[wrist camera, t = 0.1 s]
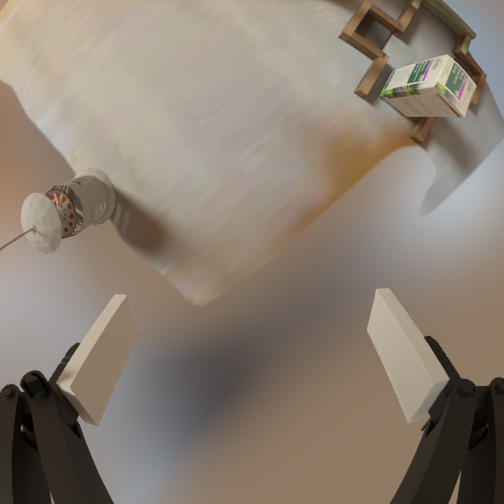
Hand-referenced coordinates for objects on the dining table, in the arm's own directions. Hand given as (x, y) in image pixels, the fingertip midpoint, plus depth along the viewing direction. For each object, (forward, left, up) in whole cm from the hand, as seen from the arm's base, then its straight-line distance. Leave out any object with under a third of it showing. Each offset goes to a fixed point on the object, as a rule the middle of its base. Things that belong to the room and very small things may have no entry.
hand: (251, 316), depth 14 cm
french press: (-1, -27, -28) cm, 39 cm away
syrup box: (-17, +23, -28) cm, 40 cm away
